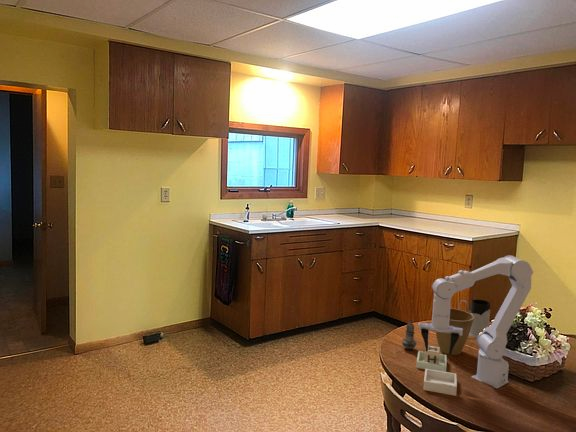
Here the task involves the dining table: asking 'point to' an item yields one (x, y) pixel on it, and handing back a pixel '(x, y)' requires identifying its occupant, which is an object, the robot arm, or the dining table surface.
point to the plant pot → (459, 321)
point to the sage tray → (432, 366)
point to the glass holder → (479, 316)
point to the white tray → (440, 382)
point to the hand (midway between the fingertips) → (438, 351)
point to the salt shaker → (409, 337)
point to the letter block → (432, 355)
